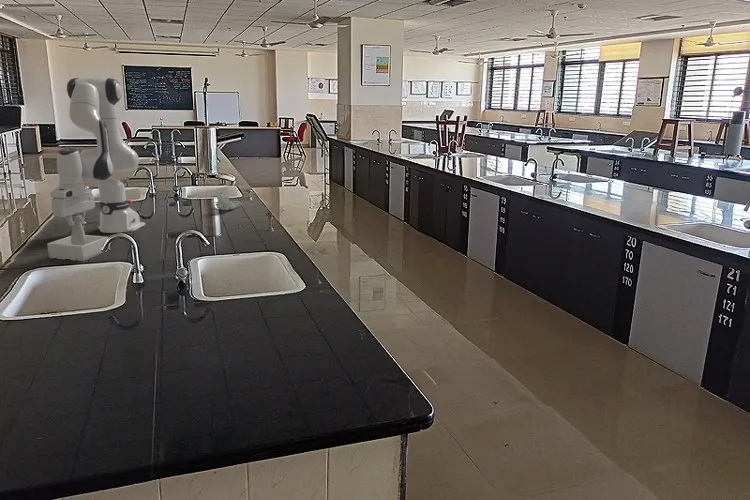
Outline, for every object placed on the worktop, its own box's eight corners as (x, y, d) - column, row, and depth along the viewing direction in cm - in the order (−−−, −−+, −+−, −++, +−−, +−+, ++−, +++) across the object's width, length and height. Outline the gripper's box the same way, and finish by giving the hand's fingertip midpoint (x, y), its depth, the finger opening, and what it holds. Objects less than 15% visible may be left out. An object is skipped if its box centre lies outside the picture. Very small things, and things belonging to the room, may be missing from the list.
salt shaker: (72, 244, 239) (68, 214, 235) (87, 243, 241) (84, 213, 237) (71, 248, 234) (67, 216, 230) (86, 247, 236) (83, 216, 232)
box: (77, 247, 247) (75, 234, 246) (110, 250, 244) (108, 236, 242) (49, 258, 232) (47, 243, 231) (83, 261, 229) (82, 246, 227)
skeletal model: (242, 205, 343) (238, 182, 321) (241, 219, 339) (237, 196, 316) (214, 205, 341) (208, 181, 319) (213, 219, 336) (207, 195, 314)
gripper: (83, 185, 242) (87, 218, 245) (46, 193, 222) (51, 228, 226) (97, 186, 240) (100, 219, 244) (60, 194, 221) (65, 229, 225)
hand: (76, 223), depth 235 cm, fingers closed on salt shaker, 4 cm apart
